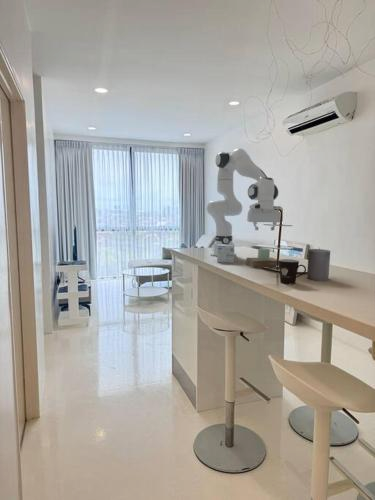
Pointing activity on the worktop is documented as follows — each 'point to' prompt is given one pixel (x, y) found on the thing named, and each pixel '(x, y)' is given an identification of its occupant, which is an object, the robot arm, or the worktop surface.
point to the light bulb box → (225, 253)
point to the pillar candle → (318, 264)
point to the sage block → (263, 254)
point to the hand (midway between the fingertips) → (264, 230)
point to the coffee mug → (289, 270)
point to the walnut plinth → (261, 262)
